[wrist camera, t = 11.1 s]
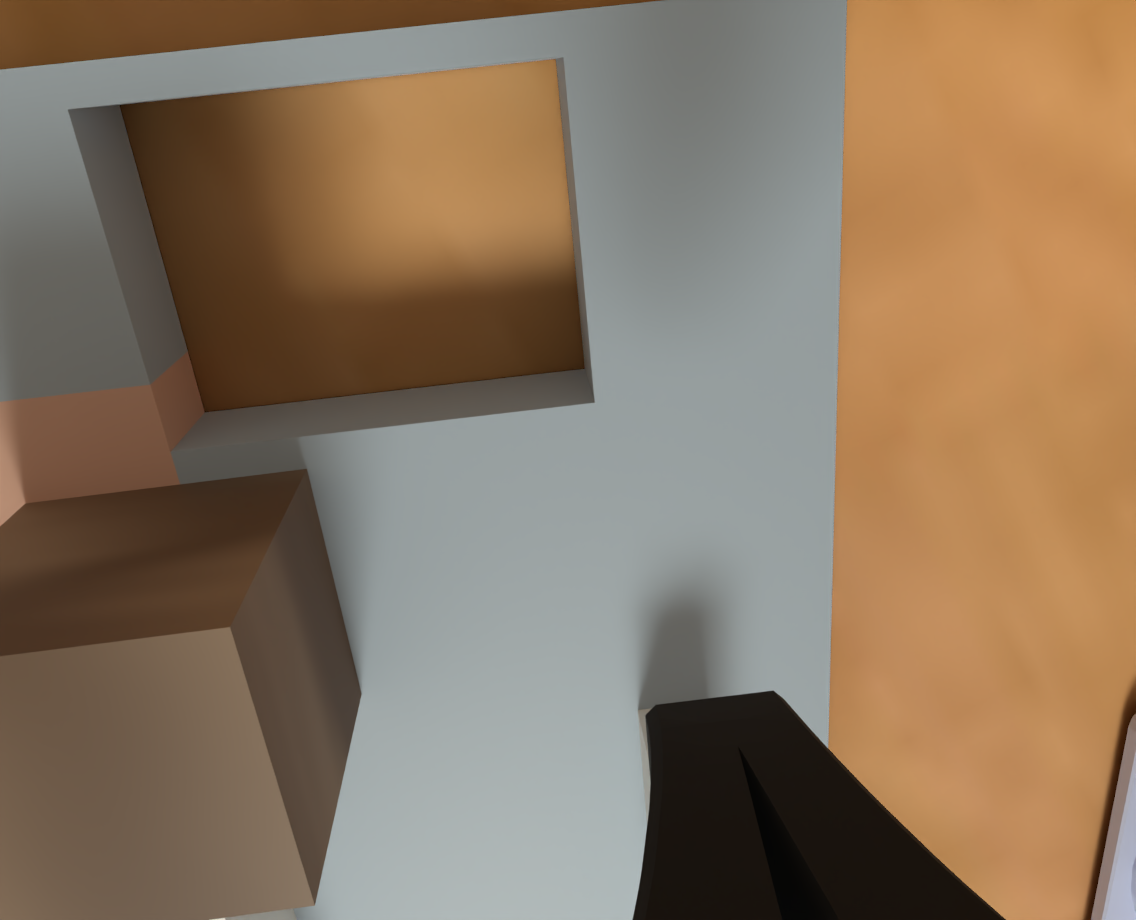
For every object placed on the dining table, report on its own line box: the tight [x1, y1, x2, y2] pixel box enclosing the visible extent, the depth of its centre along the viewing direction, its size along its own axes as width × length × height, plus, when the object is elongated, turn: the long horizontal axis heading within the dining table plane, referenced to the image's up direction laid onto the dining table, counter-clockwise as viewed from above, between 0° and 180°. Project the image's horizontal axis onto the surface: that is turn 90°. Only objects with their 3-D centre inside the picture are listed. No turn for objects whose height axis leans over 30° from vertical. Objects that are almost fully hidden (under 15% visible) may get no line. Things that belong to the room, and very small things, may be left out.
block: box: [0, 469, 362, 920], centre depth 12 cm, size 4×4×4 cm
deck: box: [0, 0, 847, 920], centre depth 15 cm, size 14×24×4 cm, turn 6°
